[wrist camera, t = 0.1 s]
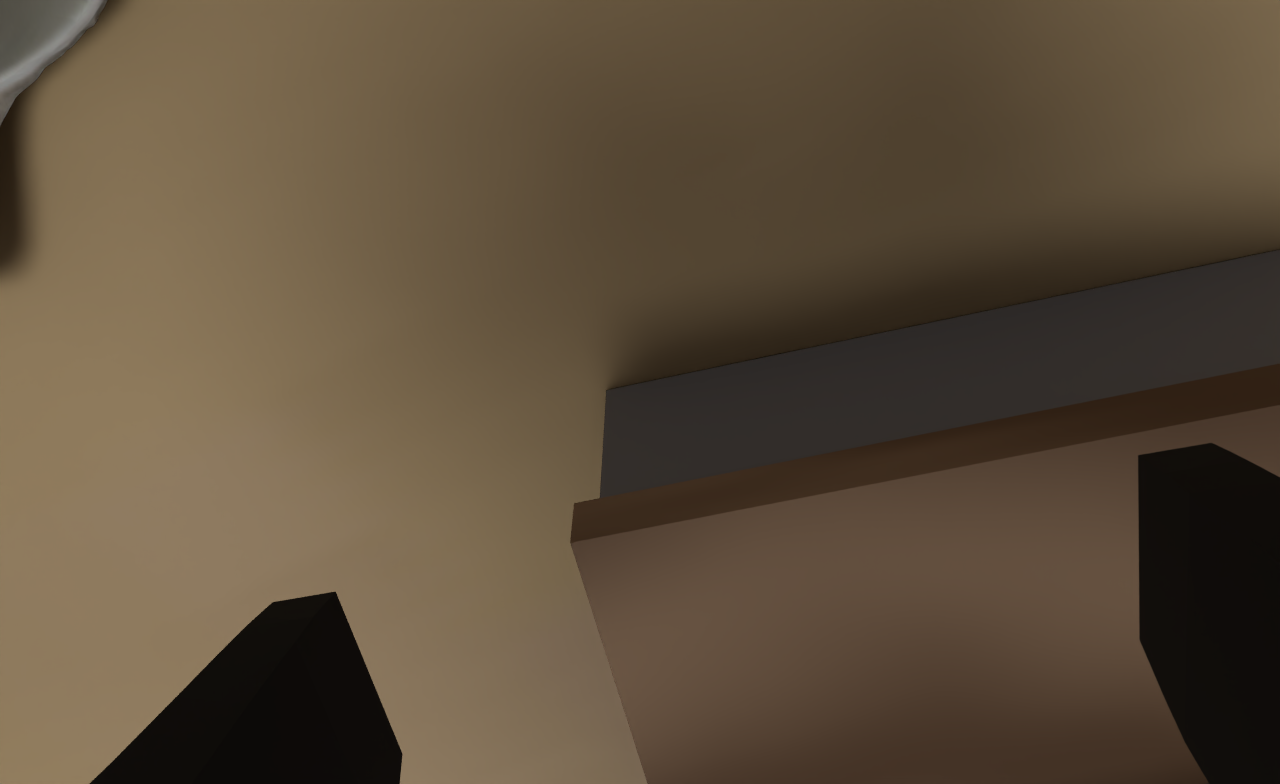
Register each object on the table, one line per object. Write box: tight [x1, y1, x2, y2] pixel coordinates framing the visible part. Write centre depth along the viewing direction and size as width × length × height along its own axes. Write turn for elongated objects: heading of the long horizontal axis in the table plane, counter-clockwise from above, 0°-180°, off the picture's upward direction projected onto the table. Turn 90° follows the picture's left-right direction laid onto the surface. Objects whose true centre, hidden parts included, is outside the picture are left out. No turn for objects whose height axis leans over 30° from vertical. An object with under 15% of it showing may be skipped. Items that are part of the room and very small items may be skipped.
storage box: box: [600, 250, 1280, 498], centre depth 21 cm, size 12×12×4 cm
